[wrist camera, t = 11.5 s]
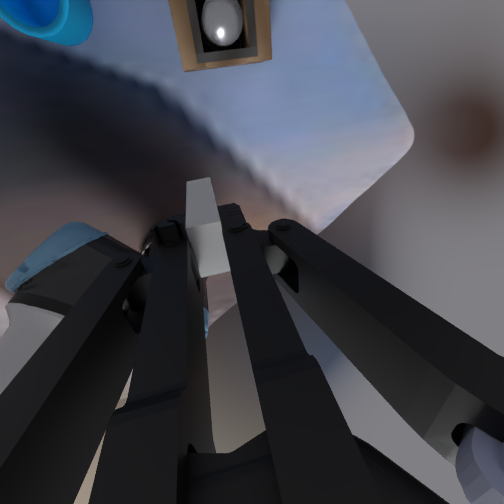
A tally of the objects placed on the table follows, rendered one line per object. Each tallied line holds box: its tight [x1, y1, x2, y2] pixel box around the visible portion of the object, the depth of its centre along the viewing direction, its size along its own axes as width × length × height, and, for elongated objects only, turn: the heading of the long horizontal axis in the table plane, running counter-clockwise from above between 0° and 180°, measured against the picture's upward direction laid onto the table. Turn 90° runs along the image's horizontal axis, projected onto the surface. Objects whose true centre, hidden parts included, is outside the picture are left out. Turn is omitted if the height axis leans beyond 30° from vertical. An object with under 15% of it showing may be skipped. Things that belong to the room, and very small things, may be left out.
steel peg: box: [201, 0, 243, 51], centre depth 34 cm, size 5×5×7 cm
